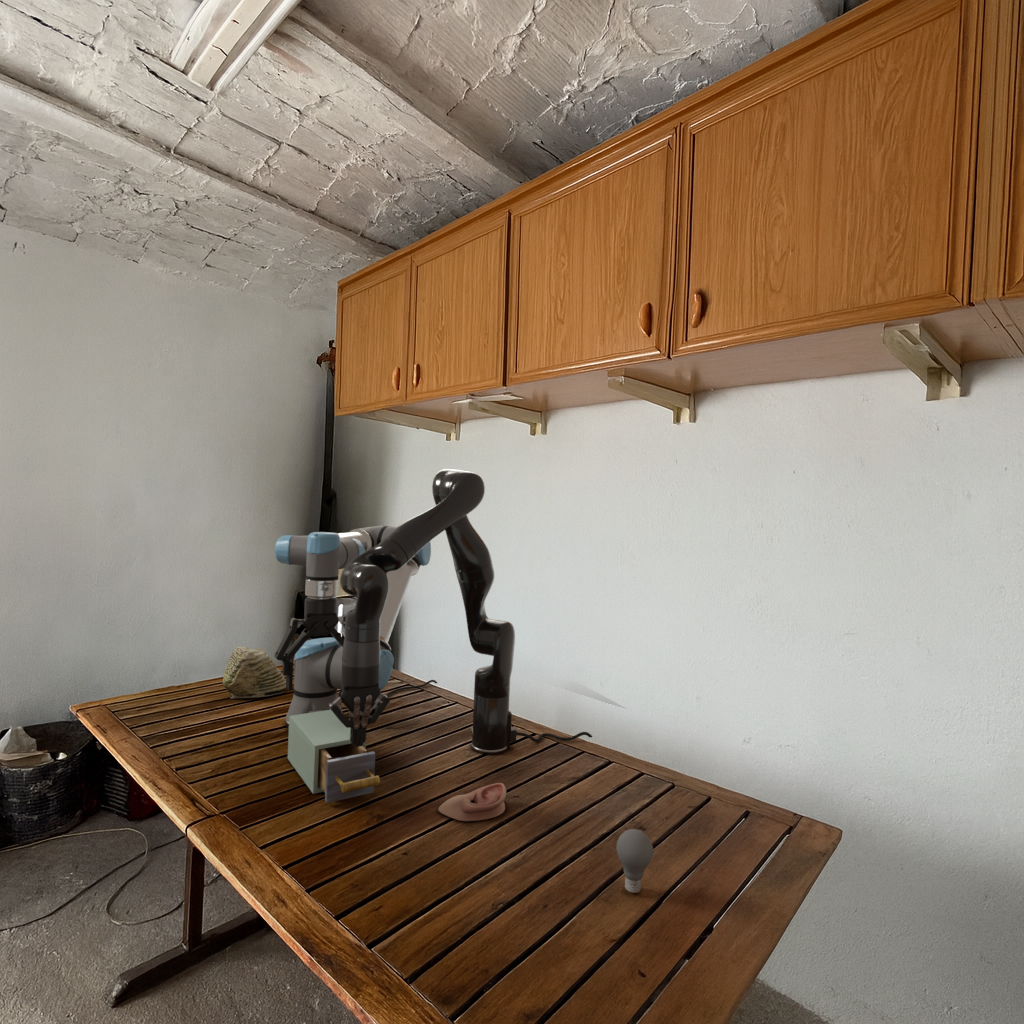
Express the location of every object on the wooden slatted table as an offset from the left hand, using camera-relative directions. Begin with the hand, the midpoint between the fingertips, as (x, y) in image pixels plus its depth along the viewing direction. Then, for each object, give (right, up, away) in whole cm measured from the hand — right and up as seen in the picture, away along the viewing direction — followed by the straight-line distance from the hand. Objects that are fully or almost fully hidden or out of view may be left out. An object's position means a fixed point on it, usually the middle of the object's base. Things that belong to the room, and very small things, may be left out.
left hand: (318, 685), depth 152 cm
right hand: (+15, -6, -23) cm, 28 cm away
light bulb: (+67, -22, -46) cm, 84 cm away
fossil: (-34, -16, +46) cm, 59 cm away
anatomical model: (+38, -20, -21) cm, 48 cm away
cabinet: (+3, -18, -5) cm, 19 cm away
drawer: (+9, -18, -14) cm, 25 cm away
